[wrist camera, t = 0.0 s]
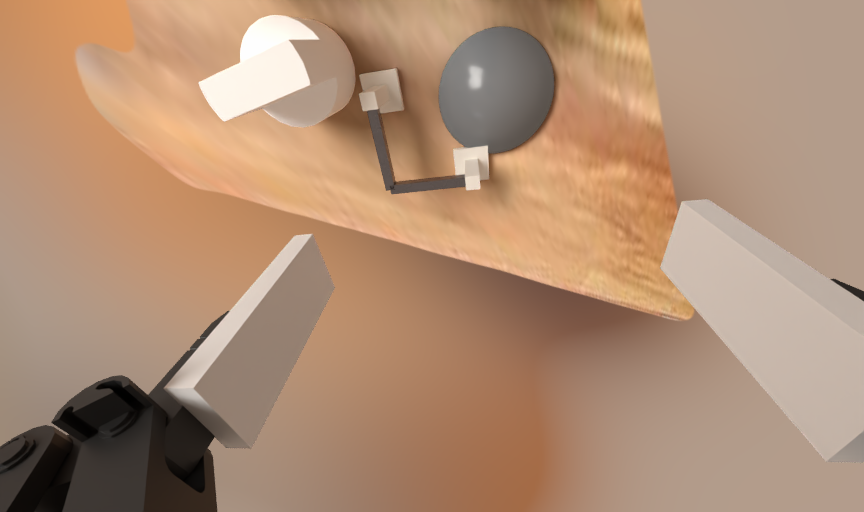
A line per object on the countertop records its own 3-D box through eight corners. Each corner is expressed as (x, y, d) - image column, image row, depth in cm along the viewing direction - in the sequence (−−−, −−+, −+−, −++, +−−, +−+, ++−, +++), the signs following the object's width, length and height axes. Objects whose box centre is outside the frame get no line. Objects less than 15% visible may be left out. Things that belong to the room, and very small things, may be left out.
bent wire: (367, 99, 30) (364, 101, 30) (465, 84, 29) (465, 86, 28) (388, 191, 36) (387, 194, 35) (472, 182, 34) (473, 185, 33)
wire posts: (348, 97, 35) (328, 107, 30) (374, 48, 32) (356, 50, 27) (473, 193, 40) (475, 217, 35) (505, 158, 37) (512, 178, 32)
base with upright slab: (329, 2, 30) (265, -15, 21) (369, 100, 35) (332, 123, 25) (255, 39, 33) (166, 39, 23) (302, 126, 37) (244, 157, 27)
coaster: (431, 38, 31) (431, 38, 31) (557, 16, 30) (558, 15, 29) (445, 157, 38) (445, 159, 37) (549, 145, 36) (550, 146, 36)
